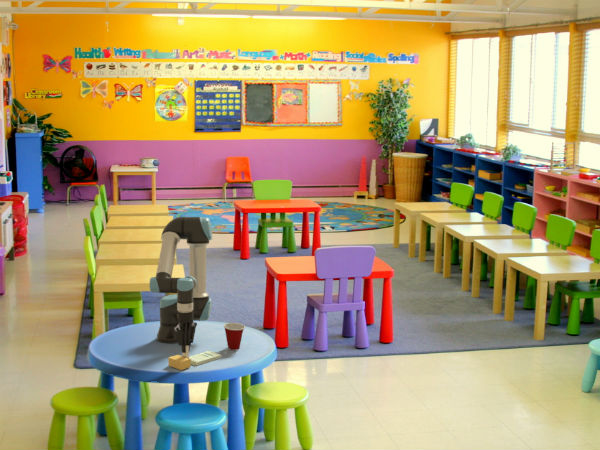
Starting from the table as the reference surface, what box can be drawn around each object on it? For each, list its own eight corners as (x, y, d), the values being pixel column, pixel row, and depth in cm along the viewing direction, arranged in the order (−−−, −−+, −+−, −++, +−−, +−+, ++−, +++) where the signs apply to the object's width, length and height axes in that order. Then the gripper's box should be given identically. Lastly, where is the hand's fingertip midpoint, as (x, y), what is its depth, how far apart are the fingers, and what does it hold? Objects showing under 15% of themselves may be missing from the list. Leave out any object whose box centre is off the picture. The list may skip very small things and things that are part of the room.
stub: (168, 365, 385) (168, 357, 385) (178, 362, 390) (178, 354, 389) (180, 370, 379) (180, 361, 379) (190, 366, 384) (190, 358, 383)
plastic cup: (241, 352, 407) (241, 329, 405) (221, 350, 409) (221, 327, 407) (247, 345, 417) (247, 323, 415) (227, 344, 420) (227, 321, 417)
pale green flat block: (184, 361, 392) (184, 358, 392) (208, 353, 404) (208, 350, 404) (196, 365, 387) (196, 362, 386) (221, 357, 398) (221, 354, 398)
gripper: (179, 315, 376) (180, 363, 380) (201, 309, 385) (201, 357, 389) (169, 311, 380) (170, 360, 384) (190, 306, 390) (190, 353, 394)
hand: (185, 358), depth 387 cm, fingers closed
